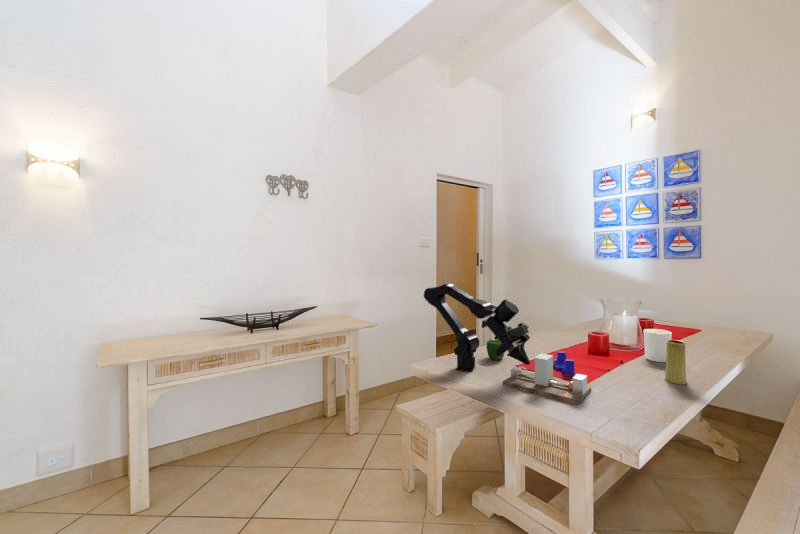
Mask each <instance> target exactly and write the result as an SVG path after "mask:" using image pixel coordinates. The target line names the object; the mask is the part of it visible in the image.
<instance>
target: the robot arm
mask: <svg viewBox="0 0 800 534" xmlns="http://www.w3.org/2000/svg"><path fill="white" fill-rule="evenodd" d="M446 295H448V296H449V297H450V298H453V299H454V300H456V301H457V302H458V303H460V304H462V305H464V306H465V307H467V308H468V309H469V311H470V313H471V314H472V315H474V317H476V318H477V319H480V320H481V319H485V320H482V321H481V328H482V329H484V328H488V329H489V330H490V331H491V332H492V334H493V336H494V337H493V338H494V341H495V340H497V339H498V340H499V341H500V342H501V343H502V344H501V345H500V346H499V347H498V348H497V349H496V350H495V355H496V356H497V357H498V358H500V357H501V356H503V354H504V355H505V353H507V352H508V353H507V354H506V356H507V357H510V358H513V359H514V360H517V361H519V362H521V363H523V364H524V365H527V366H529V365H530V364H531V361H530V358H529V357H528V355H527V352H526V350H525V345H526V342H527V341H529V340H530V339H531V337H530V336H529V332H530V331H529V330H528V329H529V325H527V324H526V323H525V322H524V321H523V322H520V323H518V324H517V327H515V328H513V327H512V326H507V324H506V323H509V322H510V321H511V320H512V319H513V318H514V317H515V316H516V315H517V314H519V312H520V310H519V308H518V307H517V305H516V304H514V303H513V302H511V301H509V300H508V299H503V300H502V301H501V302H500V304H499V305H498V306H496V305H493V304H492V303H491V302H488V301H486V300H483V299H479V298H475V297H474V296H472V295H470V294H469V293H466V291H463V289H460V288H459V287H457V286H456V285H454V284H453V283H449V282H448V283H444V284H442V285H439V286H432V287H426V288H425V290H424V292H423V298H424V300H425V301H426V302H427V303H428V304H429V305H431V306H432V307H434V308H435V309H436V310H437V311H438V312H439V314H440V315H441V317H442V318H443V319H444V320H445V322H446V324H447V325H448V326H449V328H450V329H451V330H452V332H453V333H454V335H455V338H456V340H455V341H456V343H457V346H455V348H454V349H453V352H454V356H456V359H457V360H456V363H457V364H456V365H457V367H456V368H455V370H457V371H465V372H473V370H474V369H475V368H476V356H475V355H474V353H476V352H477V349H478V348H479V347H480V339H479V335H477V333H475V331H474V329H467V328H466V327H465V326H464V325H463V323H462V322H461V321H460V319H459V317H457V315H456V314H455V312H454V311H453V310H452V308H451V307H450V306H449V304H448V303H447V301H446ZM503 357H504V356H503Z"/></svg>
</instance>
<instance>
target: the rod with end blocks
mask: <svg viewBox="0 0 800 534" xmlns="http://www.w3.org/2000/svg"><path fill="white" fill-rule="evenodd" d="M521 371H522V368H521V367H517V366H514V367H512V368H510V376H511V378H515V379H518V378H519V377H523V378H528V379H532V380H535V377H534V376H530V375H525V374H521ZM549 384H553V385H557V386H562V387H566V388H568V390H569V391H573V393H574V394H578V395H582V396H583V395H584V394H585V392H586V391H587V386H588V375H586V374H582V373H576V374H574V376H572V379H571V380H570V381H569V384H565V383H560V382H556V381H552V380H549Z"/></svg>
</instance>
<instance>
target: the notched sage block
mask: <svg viewBox="0 0 800 534" xmlns="http://www.w3.org/2000/svg"><path fill="white" fill-rule="evenodd" d="M553 359H554V355H553V354H545V353H540V354H538V355H536V356H535V357H534V374H535V384H538V385H542V386H548V385H549V380H552V381H553V378H554V366H553Z"/></svg>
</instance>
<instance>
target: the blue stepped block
mask: <svg viewBox="0 0 800 534" xmlns="http://www.w3.org/2000/svg"><path fill="white" fill-rule="evenodd" d="M553 365H554V366H553V368H555V369H556V370H557V371H560V370H562V371H563V372H562V371H561V372H562V373H563V374H564V376H566V375H570V376H569V377H574V376H575V360H574V359H567V353H566V352H565V351H557V352H556V358H553Z"/></svg>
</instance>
